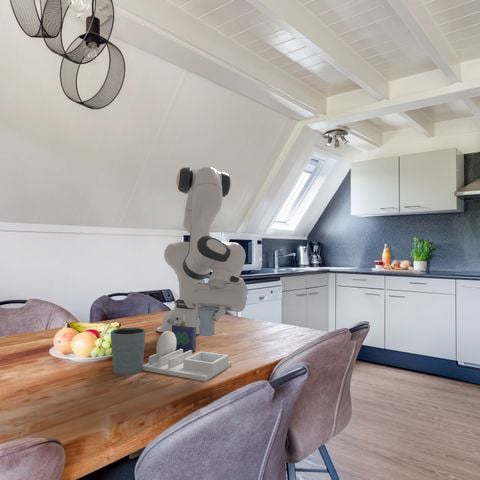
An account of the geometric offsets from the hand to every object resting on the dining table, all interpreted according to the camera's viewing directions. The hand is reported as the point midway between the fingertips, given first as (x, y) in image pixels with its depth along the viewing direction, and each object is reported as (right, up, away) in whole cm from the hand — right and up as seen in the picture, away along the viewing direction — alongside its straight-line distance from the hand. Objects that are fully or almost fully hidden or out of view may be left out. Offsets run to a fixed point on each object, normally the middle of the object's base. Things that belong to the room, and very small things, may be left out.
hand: (206, 319), depth 117 cm
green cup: (-23, -15, -1) cm, 28 cm away
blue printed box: (-10, -16, +21) cm, 28 cm away
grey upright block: (0, -5, 0) cm, 5 cm away
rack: (-6, -15, +2) cm, 16 cm away
